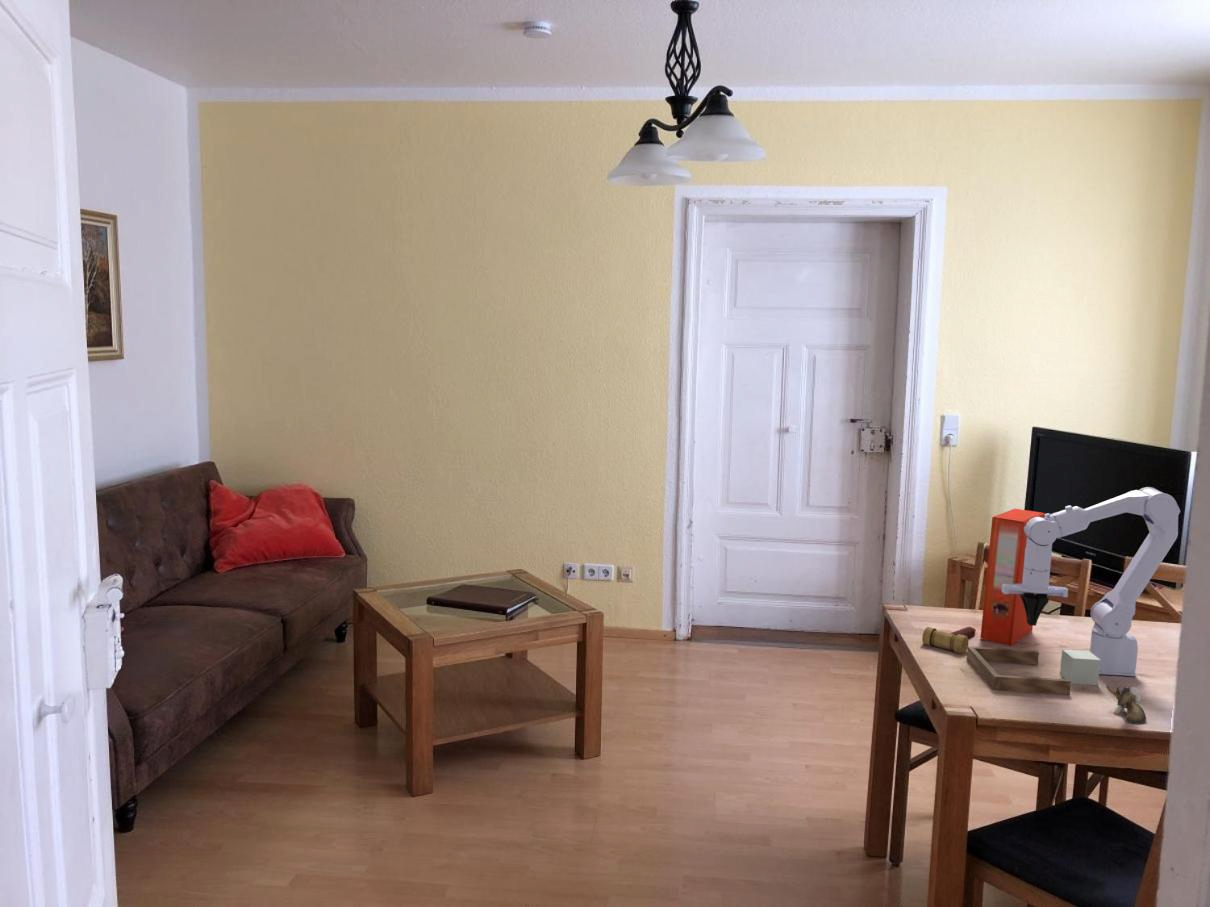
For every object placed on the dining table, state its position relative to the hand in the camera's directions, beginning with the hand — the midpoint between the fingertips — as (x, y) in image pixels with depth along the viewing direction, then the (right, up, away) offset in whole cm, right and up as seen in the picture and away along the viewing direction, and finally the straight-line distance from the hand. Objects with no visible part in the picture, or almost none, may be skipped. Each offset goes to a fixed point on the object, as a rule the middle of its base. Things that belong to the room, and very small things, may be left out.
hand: (1031, 624), depth 229 cm
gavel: (-12, -8, +16) cm, 21 cm away
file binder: (+3, -7, +22) cm, 23 cm away
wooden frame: (-7, -10, -8) cm, 15 cm away
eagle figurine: (+6, -14, -29) cm, 33 cm away
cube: (+7, -11, -9) cm, 16 cm away
